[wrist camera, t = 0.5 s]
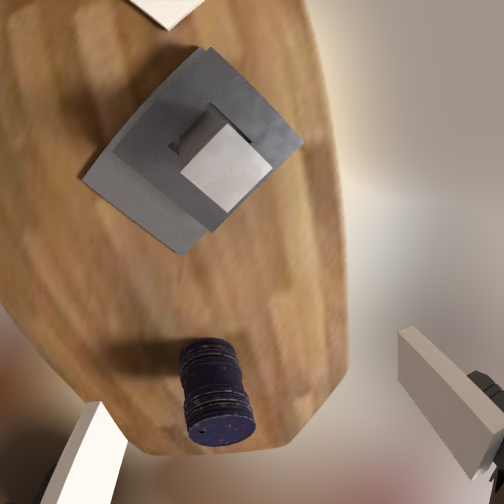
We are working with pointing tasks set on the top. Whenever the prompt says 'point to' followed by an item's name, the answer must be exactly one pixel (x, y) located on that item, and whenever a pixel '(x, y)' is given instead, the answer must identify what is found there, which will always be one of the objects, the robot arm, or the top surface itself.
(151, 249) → the top surface
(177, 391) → the top surface
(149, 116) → the socket block
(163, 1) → the cream pad
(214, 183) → the aluminium plug
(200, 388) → the storage jar
